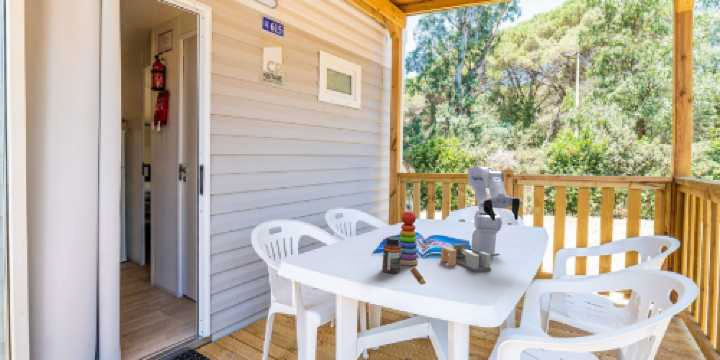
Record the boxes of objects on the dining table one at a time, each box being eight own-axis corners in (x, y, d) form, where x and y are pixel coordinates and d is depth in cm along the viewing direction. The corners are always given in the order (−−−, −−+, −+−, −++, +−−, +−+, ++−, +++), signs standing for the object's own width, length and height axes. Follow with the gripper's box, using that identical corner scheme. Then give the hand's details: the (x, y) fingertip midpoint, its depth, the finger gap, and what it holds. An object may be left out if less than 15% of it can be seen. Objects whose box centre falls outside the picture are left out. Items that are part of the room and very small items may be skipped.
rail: (442, 257, 151) (443, 243, 150) (457, 255, 154) (458, 242, 153) (474, 272, 134) (475, 256, 134) (490, 270, 137) (492, 255, 136)
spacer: (449, 265, 140) (450, 250, 139) (440, 261, 145) (441, 246, 144) (455, 265, 141) (456, 250, 140) (446, 260, 146) (447, 246, 145)
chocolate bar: (418, 284, 120) (418, 277, 120) (409, 271, 132) (409, 265, 132) (426, 284, 120) (427, 277, 120) (416, 271, 132) (417, 265, 132)
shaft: (449, 255, 148) (450, 242, 148) (461, 254, 151) (462, 242, 150) (471, 265, 137) (472, 251, 137) (483, 264, 139) (484, 250, 139)
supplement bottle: (380, 268, 133) (382, 235, 132) (398, 268, 133) (400, 235, 133) (383, 273, 127) (385, 239, 126) (401, 274, 128) (403, 240, 127)
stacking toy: (419, 261, 143) (423, 210, 142) (415, 267, 136) (418, 214, 134) (398, 258, 146) (401, 208, 144) (393, 264, 138) (396, 211, 137)
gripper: (478, 186, 146) (484, 210, 136) (519, 184, 144) (528, 208, 133) (477, 200, 150) (483, 225, 140) (517, 198, 148) (526, 223, 137)
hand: (505, 218), depth 137 cm, fingers open, 7 cm apart
